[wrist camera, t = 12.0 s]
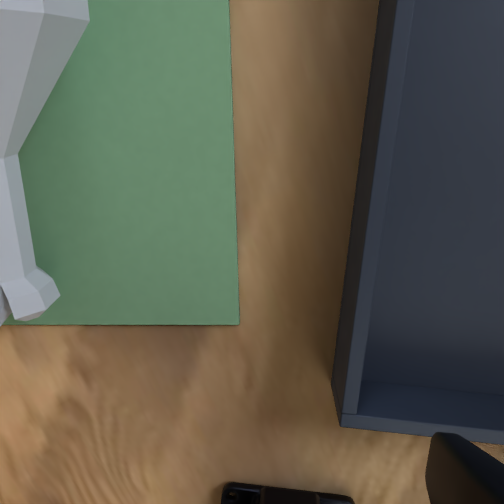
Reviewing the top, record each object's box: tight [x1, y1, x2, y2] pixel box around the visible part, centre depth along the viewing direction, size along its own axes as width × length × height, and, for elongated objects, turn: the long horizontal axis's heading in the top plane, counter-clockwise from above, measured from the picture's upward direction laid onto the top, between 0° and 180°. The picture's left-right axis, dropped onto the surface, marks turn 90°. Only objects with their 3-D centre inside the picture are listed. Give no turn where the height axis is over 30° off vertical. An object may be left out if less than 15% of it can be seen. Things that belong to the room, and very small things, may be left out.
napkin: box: [2, 0, 240, 325], centre depth 19 cm, size 19×18×1 cm
